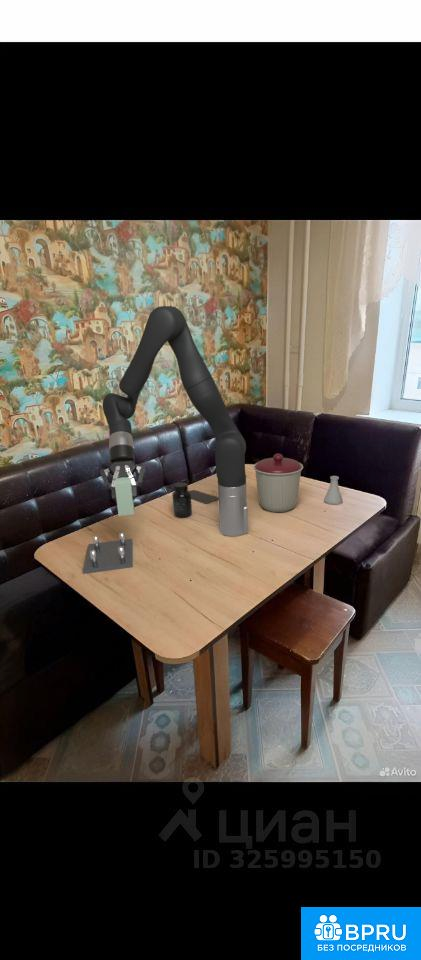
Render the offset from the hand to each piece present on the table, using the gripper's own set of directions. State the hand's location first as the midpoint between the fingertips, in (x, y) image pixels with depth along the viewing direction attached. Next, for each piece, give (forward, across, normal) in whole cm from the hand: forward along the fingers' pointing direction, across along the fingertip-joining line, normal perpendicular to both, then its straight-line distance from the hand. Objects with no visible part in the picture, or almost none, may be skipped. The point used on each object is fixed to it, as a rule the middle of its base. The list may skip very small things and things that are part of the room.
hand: (124, 499), depth 120 cm
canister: (-3, +55, +29) cm, 62 cm away
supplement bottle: (-5, +19, +31) cm, 37 cm away
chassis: (+13, -6, +13) cm, 20 cm away
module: (+2, 0, +5) cm, 5 cm away
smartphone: (-16, +28, +42) cm, 53 cm away
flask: (-3, +77, +28) cm, 82 cm away
